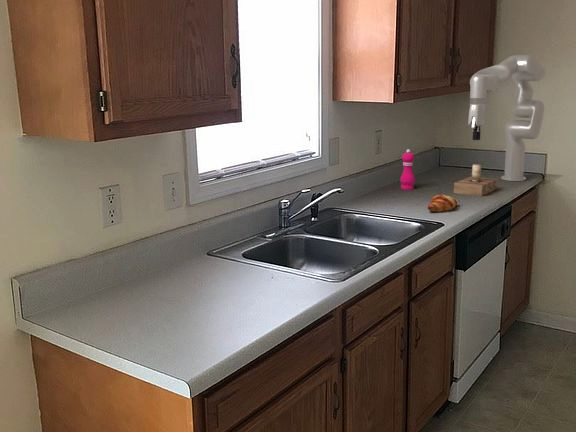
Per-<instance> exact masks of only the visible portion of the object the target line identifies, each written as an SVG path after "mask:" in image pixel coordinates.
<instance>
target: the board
mask: <svg viewBox="0 0 576 432" xmlns="http://www.w3.org/2000/svg"><path fill="white" fill-rule="evenodd" d="M497 189H498V179H497V178H490V177H489V178H487V177H481V179H480V183H478V182H472V176H469V177H465V178H463V179H461V180H458V181H456V182H454V183H453V194H459V195H469V196H475V197H483V196H485V195H488V194H489V193H491V192H494V191H495V190H496V191H497Z"/></svg>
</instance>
